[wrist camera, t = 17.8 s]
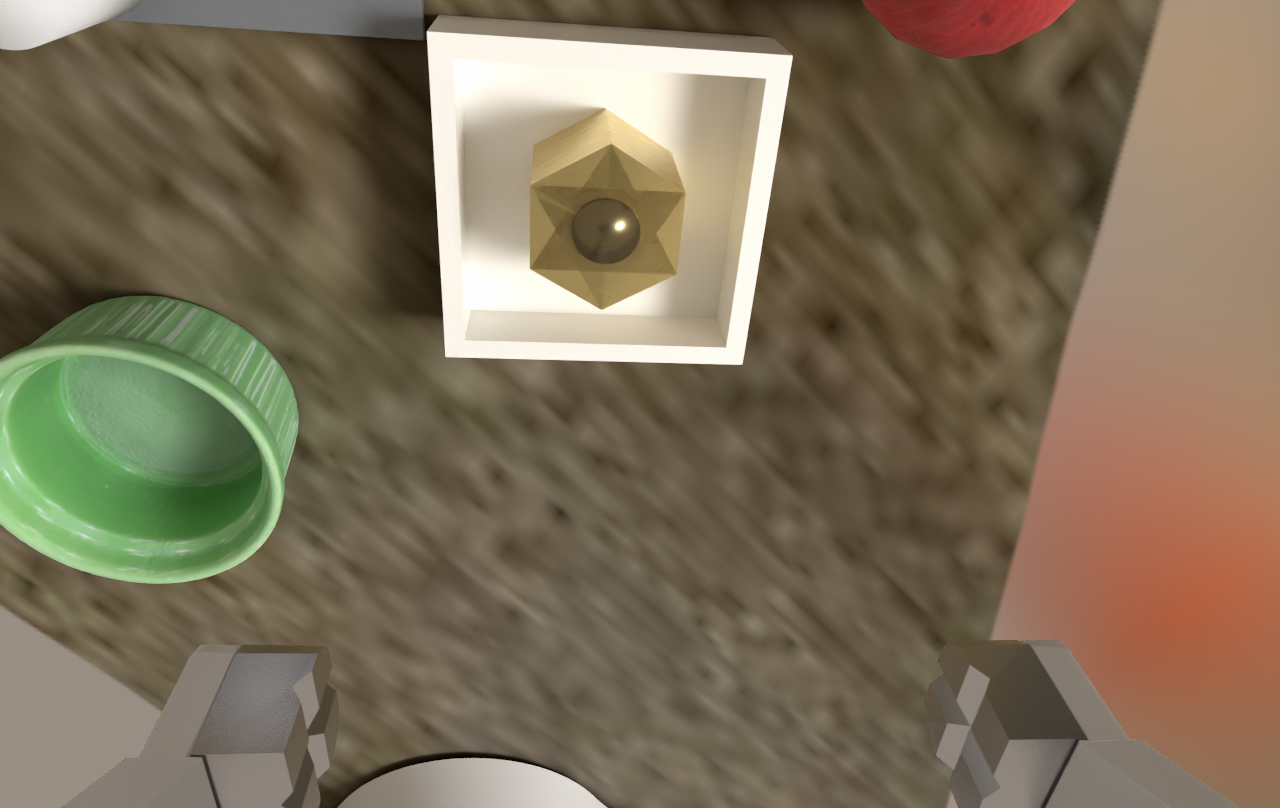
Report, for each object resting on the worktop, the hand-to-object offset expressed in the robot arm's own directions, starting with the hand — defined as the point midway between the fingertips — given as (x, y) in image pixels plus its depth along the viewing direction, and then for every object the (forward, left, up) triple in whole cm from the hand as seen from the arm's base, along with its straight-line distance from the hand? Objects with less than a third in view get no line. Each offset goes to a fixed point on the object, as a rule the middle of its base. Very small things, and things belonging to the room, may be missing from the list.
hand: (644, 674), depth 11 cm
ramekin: (-7, +14, -18) cm, 24 cm away
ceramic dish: (+1, 0, -18) cm, 18 cm away
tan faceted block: (+1, 0, -17) cm, 17 cm away
